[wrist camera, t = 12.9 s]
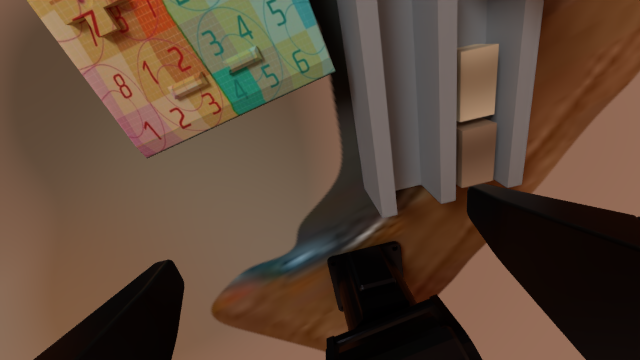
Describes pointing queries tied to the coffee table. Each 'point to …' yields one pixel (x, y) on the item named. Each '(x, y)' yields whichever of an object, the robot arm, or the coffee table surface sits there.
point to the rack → (433, 88)
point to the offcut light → (476, 81)
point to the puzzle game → (187, 59)
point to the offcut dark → (475, 151)
